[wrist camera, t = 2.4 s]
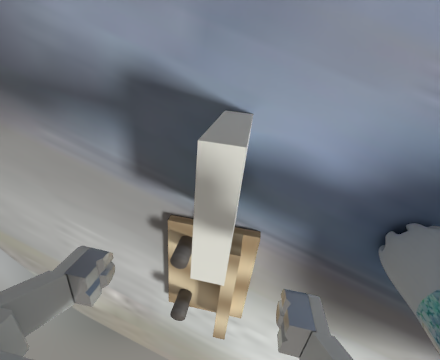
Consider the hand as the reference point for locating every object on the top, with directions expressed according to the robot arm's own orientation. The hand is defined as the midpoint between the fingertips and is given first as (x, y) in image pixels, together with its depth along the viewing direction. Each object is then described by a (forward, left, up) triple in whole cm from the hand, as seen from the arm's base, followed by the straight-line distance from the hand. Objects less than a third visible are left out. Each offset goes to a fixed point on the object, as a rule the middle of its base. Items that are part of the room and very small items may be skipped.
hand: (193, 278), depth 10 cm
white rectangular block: (-1, 0, -12) cm, 12 cm away
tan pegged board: (+13, -1, -12) cm, 18 cm away
